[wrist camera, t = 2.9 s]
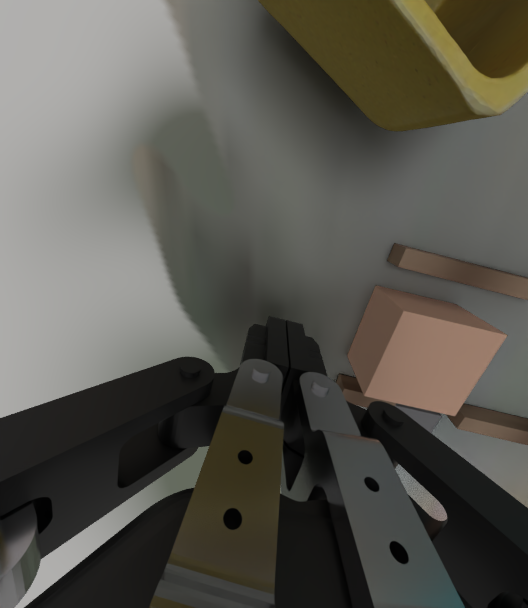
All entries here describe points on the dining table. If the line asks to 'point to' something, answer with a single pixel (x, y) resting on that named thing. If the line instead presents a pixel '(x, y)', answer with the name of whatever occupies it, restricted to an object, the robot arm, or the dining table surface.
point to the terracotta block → (421, 351)
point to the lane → (474, 276)
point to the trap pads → (421, 416)
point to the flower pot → (416, 55)
